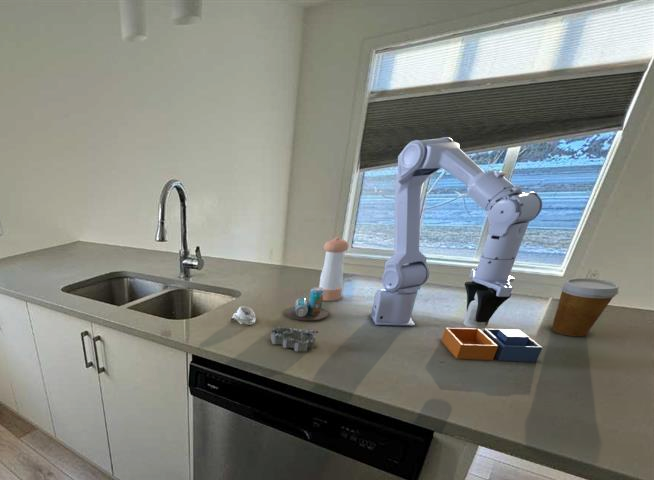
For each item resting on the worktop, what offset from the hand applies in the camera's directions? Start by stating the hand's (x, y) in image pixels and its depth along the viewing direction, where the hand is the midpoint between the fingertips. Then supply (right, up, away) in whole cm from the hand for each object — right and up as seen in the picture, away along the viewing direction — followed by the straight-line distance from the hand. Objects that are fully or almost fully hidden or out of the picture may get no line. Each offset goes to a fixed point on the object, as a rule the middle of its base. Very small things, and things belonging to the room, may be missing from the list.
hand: (476, 317), depth 92 cm
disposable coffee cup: (+29, -2, +8) cm, 30 cm away
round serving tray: (-26, +6, +31) cm, 41 cm away
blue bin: (+8, -8, +2) cm, 11 cm away
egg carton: (-37, -5, +14) cm, 40 cm away
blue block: (+8, -7, +2) cm, 11 cm away
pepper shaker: (-14, +14, +42) cm, 47 cm away
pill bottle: (0, -2, +1) cm, 2 cm away
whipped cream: (-45, +4, +30) cm, 55 cm away
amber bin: (+1, -7, +4) cm, 8 cm away
